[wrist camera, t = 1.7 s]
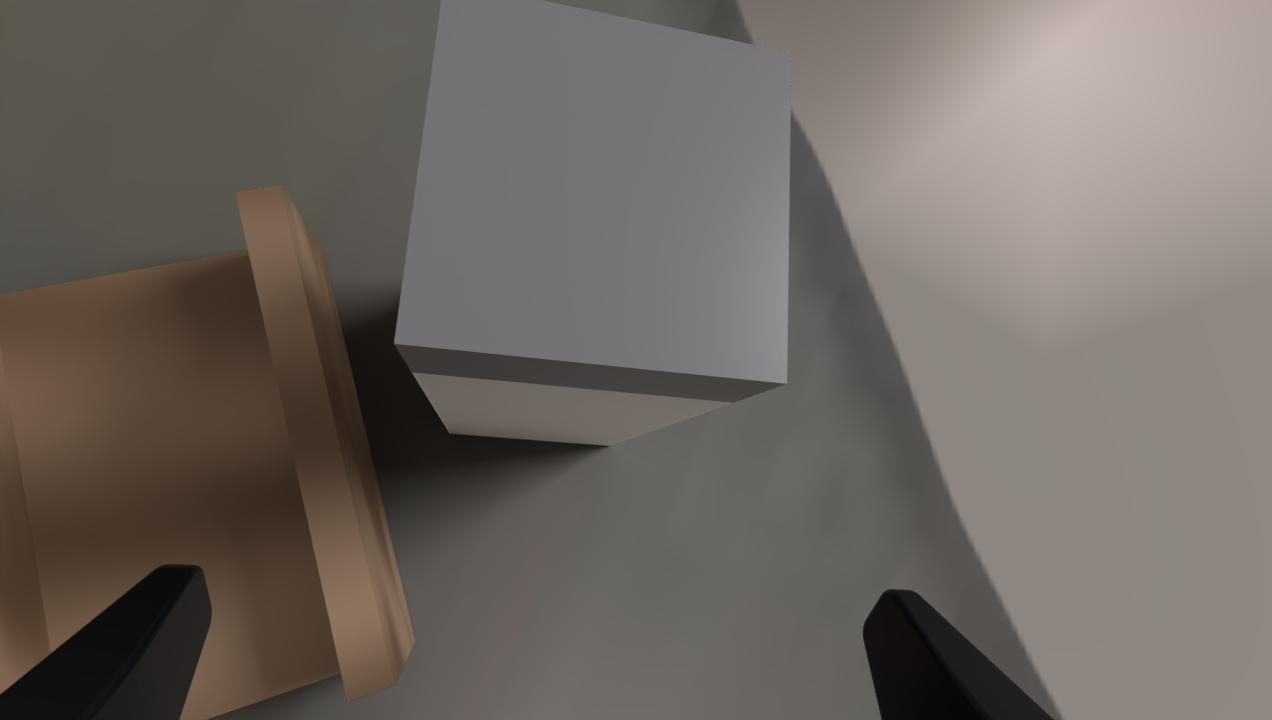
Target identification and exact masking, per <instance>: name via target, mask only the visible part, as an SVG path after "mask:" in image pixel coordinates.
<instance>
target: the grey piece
mask: <svg viewBox="0 0 1272 720" xmlns="http://www.w3.org/2000/svg"><path fill="white" fill-rule="evenodd" d="M790 113H791V53H790V52H785V51H780V50H776V49H771V48H766V47H762V46H757V45H752V44H747V43H743V42H738V41H733V40H728V39H724V38H719V37H714V36H709V35H705V34H700V33H695V32H690V31H686V30H681V29H676V28H671V27H667V26H662V25H657V24H652V23H648V22H643V21H638V20H633V19H628V18H624V17H619V16H614V15H609V14H605V13H600V12H595V11H590V10H586V9H581V8H576V7H571V6H567V5H562V4H557V3H552V2H548V1H543V0H441V6H440V13H439V21H438V28H437V35H436V42H435V50H434V57H433V64H432V71H431V79H430V86H429V93H428V100H427V108H426V115H425V122H424V129H423V137H422V144H421V151H420V158H419V166H418V173H417V180H416V187H415V195H414V202H413V209H412V216H411V223H410V231H409V238H408V245H407V252H406V260H405V267H404V274H403V281H402V289H401V296H400V303H399V310H398V318H397V325H396V332H395V339H394V345H395V346H396V348H397V350H398V351H399V353H400V354H401V356H402V358H403V359H404V361H405V362H406V364H407V366H408V367H409V369H410V371H411V372H412V374H413V375H414V377H415V379H416V380H417V382H418V383H419V385H420V387H421V388H422V390H423V391H424V393H425V395H426V396H427V398H428V400H429V401H430V403H431V404H432V406H433V408H434V409H435V411H436V412H437V414H438V416H439V417H440V419H441V421H442V422H443V424H444V425H445V427H446V429H447V430H448V432H449V433H450V434H462V435H475V436H488V437H501V438H514V439H527V440H540V441H553V442H566V443H579V444H592V445H605V446H612V445H615V444H617V443H620V442H623V441H626V440H629V439H632V438H634V437H637V436H640V435H643V434H646V433H649V432H651V431H654V430H657V429H660V428H663V427H666V426H668V425H671V424H674V423H677V422H680V421H683V420H685V419H688V418H691V417H694V416H697V415H700V414H702V413H705V412H708V411H711V410H714V409H717V408H719V407H722V406H725V405H728V404H731V403H734V402H736V401H739V400H742V399H745V398H748V397H751V396H753V395H756V394H759V393H762V392H765V391H768V390H771V389H773V388H776V387H779V386H782V385H785V384H787V335H788V261H789V187H790Z"/></svg>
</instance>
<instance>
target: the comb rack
mask: <svg viewBox="0 0 1272 720" xmlns="http://www.w3.org/2000/svg"><path fill="white" fill-rule="evenodd" d="M235 193H236V198H237V202H238V207H239V212H240V216H241V221H242V225H243V230H244V234H245V239H246V243H247V248H248V250H244V251H238V252H233V253H227V254H221V255H216V256H210V257H205V258H199V259H194V260H188V261H183V262H177V263H171V264H166V265H160V266H155V267H149V268H144V269H138V270H132V271H127V272H121V273H116V274H110V275H105V276H99V277H93V278H88V279H82V280H77V281H71V282H66V283H60V284H54V285H49V286H43V287H38V288H32V289H27V290H21V291H15V292H10V293H4V294H0V694H1V693H2V692H3V691H5V690H6V689H7V688H8V687H10V686H11V685H12V684H13V683H15V682H16V681H17V680H18V679H20V678H21V677H22V676H23V675H24V674H26V673H27V672H28V671H29V670H31V669H32V668H33V667H34V666H36V665H37V664H38V663H39V662H40V661H42V660H43V659H44V658H45V657H47V656H48V655H49V654H50V653H52V652H53V651H54V650H55V649H56V648H58V647H59V646H60V645H61V644H63V643H64V642H65V641H66V640H68V639H69V638H70V637H71V636H73V635H74V634H75V633H76V632H77V631H79V630H80V629H81V628H82V627H84V626H85V625H86V624H87V623H89V622H90V621H91V620H92V619H93V618H95V617H96V616H97V615H98V614H100V613H101V612H102V611H103V610H105V609H106V608H107V607H108V606H110V605H111V604H112V603H113V602H114V601H116V600H117V599H118V598H119V597H121V596H122V595H123V594H124V593H126V592H127V591H128V590H129V589H130V588H132V587H133V586H134V585H135V584H137V583H138V582H139V581H140V580H142V579H143V578H144V577H145V576H147V575H148V574H149V573H150V572H151V571H153V570H154V569H155V568H157V567H159V566H162V565H165V564H186V565H198V566H199V567H201V568H202V569H203V572H204V575H205V579H206V583H207V587H208V592H209V596H210V600H211V605H212V619H211V624H210V627H209V631H208V634H207V637H206V640H205V643H204V646H203V649H202V652H201V655H200V658H199V662H198V665H197V668H196V671H195V674H194V677H193V680H192V683H191V686H190V689H189V692H188V695H187V698H186V701H185V705H184V708H183V711H182V714H181V717H180V720H207V719H210V718H213V717H216V716H219V715H221V714H224V713H227V712H230V711H233V710H236V709H239V708H242V707H245V706H248V705H251V704H254V703H256V702H259V701H262V700H265V699H268V698H271V697H274V696H277V695H280V694H283V693H286V692H288V691H291V690H294V689H297V688H300V687H303V686H306V685H309V684H312V683H315V682H318V681H321V680H323V679H326V678H329V677H332V676H335V675H338V674H341V676H342V680H343V685H344V689H345V694H346V698H347V702H350V701H353V700H355V699H358V698H361V697H364V696H367V695H369V694H372V693H375V692H378V691H381V690H384V689H386V688H389V687H392V686H395V684H396V682H397V680H398V678H399V675H400V673H401V671H402V669H403V667H404V664H405V662H406V660H407V658H408V656H409V654H410V651H411V649H412V647H413V645H414V643H415V639H414V634H413V630H412V626H411V621H410V617H409V613H408V609H407V604H406V600H405V596H404V592H403V587H402V583H401V579H400V575H399V570H398V566H397V562H396V558H395V553H394V549H393V545H392V541H391V536H390V532H389V528H388V524H387V519H386V515H385V511H384V507H383V502H382V498H381V494H380V489H379V485H378V481H377V477H376V472H375V468H374V464H373V460H372V455H371V451H370V447H369V443H368V438H367V434H366V430H365V426H364V421H363V417H362V413H361V409H360V404H359V400H358V396H357V392H356V387H355V383H354V379H353V374H352V370H351V366H350V362H349V357H348V353H347V349H346V345H345V340H344V336H343V332H342V328H341V323H340V319H339V315H338V311H337V306H336V302H335V298H334V294H333V289H332V285H331V281H330V277H329V272H328V268H327V264H326V260H325V255H324V251H323V249H322V247H321V246H320V244H319V243H318V241H317V240H316V238H315V237H314V235H313V234H312V232H311V231H310V229H309V228H308V226H307V225H306V223H305V222H304V220H303V219H302V217H301V216H300V214H299V213H298V211H297V210H296V208H295V207H294V205H293V204H292V202H291V201H290V199H289V198H288V196H287V195H286V193H285V192H284V190H283V189H282V187H281V186H280V185H279V186H272V187H266V188H260V189H254V190H247V191H241V192H235Z"/></svg>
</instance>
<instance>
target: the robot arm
mask: <svg viewBox="0 0 1272 720" xmlns="http://www.w3.org/2000/svg"><path fill="white" fill-rule="evenodd" d="M211 619H212V605H211V600H210V596H209V592H208V587H207V583H206V579H205V575H204V572H203V569H202V568H201V567H199V566H198V565H186V564H165V565H162V566H159V567H157V568H155V569H154V570H153V571H151V572H150V573H149V574H148V575H147V576H145V577H144V578H143V579H142V580H140V581H139V582H138V583H137V584H135V585H134V586H133V587H132V588H130V589H129V590H128V591H127V592H126V593H124V594H123V595H122V596H121V597H119V598H118V599H117V600H116V601H114V602H113V603H112V604H111V605H110V606H108V607H107V608H106V609H105V610H103V611H102V612H101V613H100V614H98V615H97V616H96V617H95V618H93V619H92V620H91V621H90V622H89V623H87V624H86V625H85V626H84V627H82V628H81V629H80V630H79V631H77V632H76V633H75V634H74V635H73V636H71V637H70V638H69V639H68V640H66V641H65V642H64V643H63V644H61V645H60V646H59V647H58V648H56V649H55V650H54V651H53V652H52V653H50V654H49V655H48V656H47V657H45V658H44V659H43V660H42V661H40V662H39V663H38V664H37V665H36V666H34V667H33V668H32V669H31V670H29V671H28V672H27V673H26V674H24V675H23V676H22V677H21V678H20V679H18V680H17V681H16V682H15V683H13V684H12V685H11V686H10V687H8V688H7V689H6V690H5V691H3V692H2V693H1V694H0V720H180V717H181V714H182V711H183V708H184V705H185V701H186V698H187V695H188V692H189V689H190V686H191V683H192V680H193V677H194V674H195V671H196V668H197V665H198V662H199V658H200V655H201V652H202V649H203V646H204V643H205V640H206V637H207V634H208V631H209V627H210V624H211ZM863 639H864V644H865V649H866V653H867V657H868V662H869V666H870V671H871V675H872V680H873V684H874V688H875V693H876V697H877V702H878V706H879V710H880V715H881V719H882V720H1054V719H1053V718H1052V717H1051V716H1050V715H1048V714H1047V713H1046V712H1045V711H1044V710H1043V709H1042V708H1041V707H1040V706H1039V705H1038V704H1037V703H1036V702H1034V701H1033V700H1032V699H1031V698H1030V697H1029V696H1028V695H1027V694H1026V693H1025V692H1024V691H1023V690H1022V689H1020V688H1019V687H1018V686H1017V685H1016V684H1015V683H1014V682H1013V681H1012V680H1011V679H1010V678H1009V677H1007V676H1006V675H1005V674H1004V673H1003V672H1002V671H1001V670H1000V669H999V668H998V667H997V666H996V665H995V664H993V663H992V662H991V661H990V660H989V659H988V658H987V657H986V656H985V655H984V654H983V653H982V652H981V651H979V650H978V649H977V648H976V647H975V646H974V645H973V644H972V643H971V642H970V641H969V640H968V639H967V638H965V637H964V636H963V635H962V634H961V633H960V632H959V631H958V630H957V629H956V628H955V627H954V626H952V625H951V624H950V623H949V622H948V621H947V620H946V619H945V618H944V617H943V616H942V615H941V614H940V613H938V612H937V611H936V610H935V609H934V608H933V607H932V606H931V605H930V604H929V603H928V602H927V601H926V600H924V599H923V598H922V597H921V596H920V595H919V594H917V593H916V592H914V591H911V590H899V589H889V590H886V591H885V592H883V594H882V595H881V596H880V598H879V600H878V601H877V603H876V604H875V606H874V608H873V609H872V611H871V612H870V614H869V616H868V617H867V619H866V621H865V623H864V627H863Z"/></svg>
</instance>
